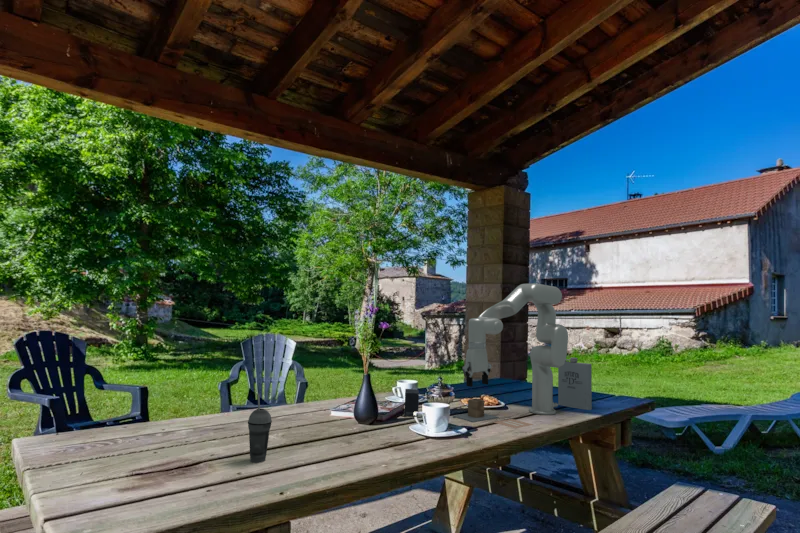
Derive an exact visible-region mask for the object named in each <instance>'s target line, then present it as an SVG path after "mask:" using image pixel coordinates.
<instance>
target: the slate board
mask: <svg viewBox="0 0 800 533" xmlns="http://www.w3.org/2000/svg"><path fill="white" fill-rule="evenodd" d="M456 418H457V419H460V420H462V421H467V422H469V423H477V422H478V423H479V422H483V421H490V420H495V419H500V417H499V416H497V415H493V414H488V413H485V412H484V417H479V418H474V417H471V416H468V412H467V413H462V414H455V415H452V419H456Z"/></svg>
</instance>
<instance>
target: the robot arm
mask: <svg viewBox="0 0 800 533" xmlns="http://www.w3.org/2000/svg"><path fill="white" fill-rule="evenodd" d="M562 299H563V294H562V290H560V288H559V287H557V286H552V285H547V284H542V283H534V282H533V283H521V284H519V285H517V286H516V287H515V288H514V289H513V290H512V291H511V292H510V293H509V294H508V295H507V296H506V297H505V298H504V299H503V300H501V301H499V302H497V303H495V304H493V305H492V306H489V307H488V308H487V309H485V310H484V311H483V312H482V313H481V314H480V315H479V316H478V317H476V318H475V317H474V318H470V319H469V320H468V349H467V350H466V354H465V355H466V356H465V365H464V366H462V372H463V375H464V376H465V377H466V379H465V380H466V382H465V383H466V385H465V386H466V387H470V388H472V387H474V386H473V385H474V384H473V379H474V378H473V375H474V374H475V373H481V374H482V375H481V384H482V385H488V384H489V375H490V373H491V370H492V367H493V366H492V364H491V363H490V362H489V360H488V352H487V343H486V342H487V341H486V339H487V338H486V337H487V336H486V334H487V335H493V336H494V335H498V334H500V333H501V332H502V331H503V330H504V324H503V322H502V320H501V319H504V318H509V317H512V316H514V315H516V314H517V313H519V312H520V311H521V309H522V308H523V307H524V306H525V305H527V304H528V303H530V302H531V303H532V304H534V306H535V308H536V310H537V321H536V332H535V338H536V339H537V341H538V342H540V343H544V344H551V346H549V345H541V344H540V345H535V346H534V347H532V348H531V350H530V354H529V356H530V357H529V358H530V364H531V372H532V373H531V377H532V380H531V384H532V385H531V386H532V387H531V388H532V389H531V394H532V395H531V399H532V400H531V401H532V402H531V407H529V408H528V412H529V413H532V414H535V415H545V416H546V415H547V416H549V415H556V414H557V410H556V409H554V408H557V407H558V406H559V405H558V402H554V400H553V398H554V397H553V396H554V393H553V392H554V391H553V390H554V375H553V371H552V369H551V368H557V369H558V368H559V367H562V366H563V365H564V363H565V361H567V360H566V359H567V353H568V346H569V344H568V343H569V331H568V329H567V327H566V326H564V325H563V324H561V323H557V322H556V321H557V313H556V310H555V307H554V306H553V305H558V304H559V303H560V302H561V301H562Z"/></svg>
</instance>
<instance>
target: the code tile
mask: <svg viewBox="0 0 800 533" xmlns="http://www.w3.org/2000/svg"><path fill="white" fill-rule="evenodd" d="M493 423H494V424H497V425H498V424H499V425H501V426H505V427H509V428H512V429H519V428H524V427H525V428H526V427H530V426H534V424H533V423H529V422H526V421H521V420H517V419H515V418H510V419H503V420H499V421H498V420H497V421H493Z"/></svg>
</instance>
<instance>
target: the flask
mask: <svg viewBox="0 0 800 533" xmlns="http://www.w3.org/2000/svg"><path fill="white" fill-rule="evenodd" d="M592 369H593V368H592V363H587V362H578V357H570V358H568V359H567V358H566V361H565V363H564V365H563V366H562V367H559V368H557V371H558V372H557V374H558V375H557V379H558V380H557V384H558V385H557V390H558V391H557V393H558V394H557V395H558V396H557V398H558V399H557V401H558V402H557V404H558V406H564V407H568V408H574V409H580V410H586V411H591V410H592V408H593V406H592V403H593V402H592V400H593V398H592V395H593V392H592V388H593V387H592V386H593V384H592V383H593V382H592V374H593V372H592Z"/></svg>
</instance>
